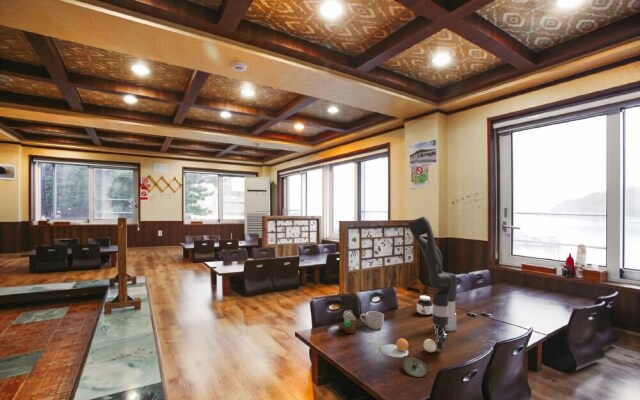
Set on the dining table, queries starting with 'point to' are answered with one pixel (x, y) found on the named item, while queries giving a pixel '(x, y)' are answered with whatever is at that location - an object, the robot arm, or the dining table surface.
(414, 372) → the lid
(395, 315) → the dining table surface
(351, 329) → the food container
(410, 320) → the dining table surface
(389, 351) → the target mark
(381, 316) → the teacup
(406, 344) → the object ball
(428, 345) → the cue ball
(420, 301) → the spread jar
